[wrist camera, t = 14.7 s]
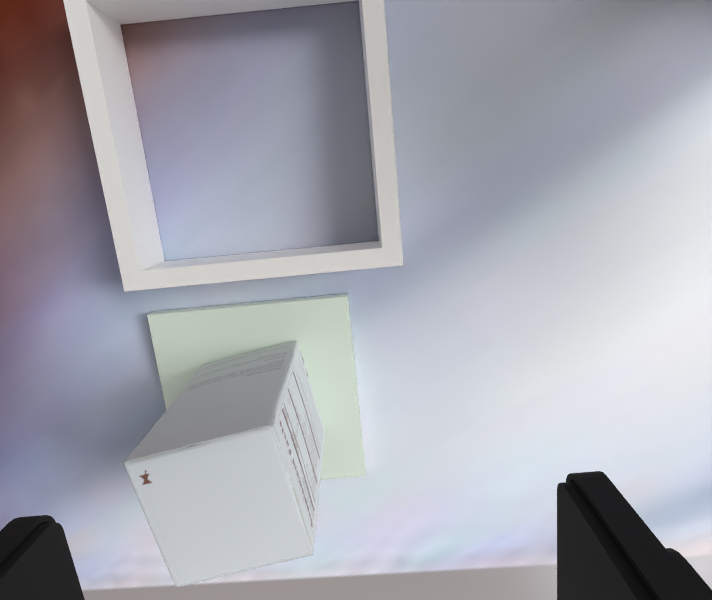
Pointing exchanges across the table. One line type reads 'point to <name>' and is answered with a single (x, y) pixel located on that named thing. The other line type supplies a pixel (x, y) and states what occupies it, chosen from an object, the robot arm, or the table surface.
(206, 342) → the pad
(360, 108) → the table surface
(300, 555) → the supplement box
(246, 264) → the bin
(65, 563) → the robot arm
